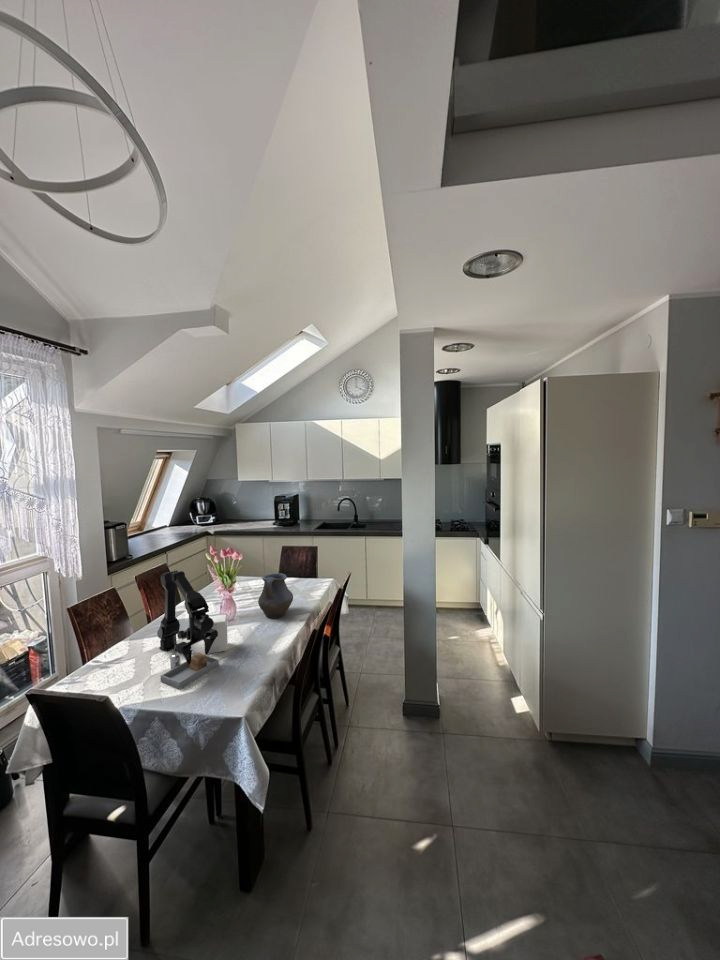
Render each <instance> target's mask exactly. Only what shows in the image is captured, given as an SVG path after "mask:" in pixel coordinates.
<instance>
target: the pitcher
mask: <svg viewBox="0 0 720 960" xmlns="http://www.w3.org/2000/svg"><path fill="white" fill-rule="evenodd" d="M287 578H288V576H287V575H286V574H285V573H281V572H280V573H279V572H278V573H277V572H276V573H275V572H274V573H268V574H265V575H263V576H262V578H261V580H263V582H264V584H263V589H262V592H261V593H260V595H259V598H258V601H257V603H258V606H259V608H260V610H261V611H262V612H263V614H264V616H265V617H266V618H269V619H279V618H282V617H284V616H285V614H286V613H287V611H288V610H289V608H290V606H291V604H292V602H293V601H294V595H293V593H292V591H291V590H290V589H289V588H288V586H287V583H286V581H285V580H286V579H287Z"/></svg>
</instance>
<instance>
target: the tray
mask: <svg viewBox="0 0 720 960" xmlns="http://www.w3.org/2000/svg"><path fill="white" fill-rule="evenodd" d="M206 656H207V666H205V667H204V668H202V669H200V670H199V671H195V670H192V669H190V665H189V664H188V663H187V661H186V660H185V662H183V663H181V665H179V666H177V667H175V668H173V669H171V668H170V670H168V671H166V672H164V673H163V674H160V682H161V683H163V684H166V685H168V686H171V687H173V688H175V689H178V690H182V689H183V688H184V687H186V686H187V685H189V684H191V683H193V682H194V681H196V680H198V679H199V678H201V677H202V676H203V675H206V674H207V673H209V672H211V671H212V670H214V669H216V667H219V666H220V664H219V663H220V662H219V659H218V658H215V657H211V656H208V655H206Z"/></svg>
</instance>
